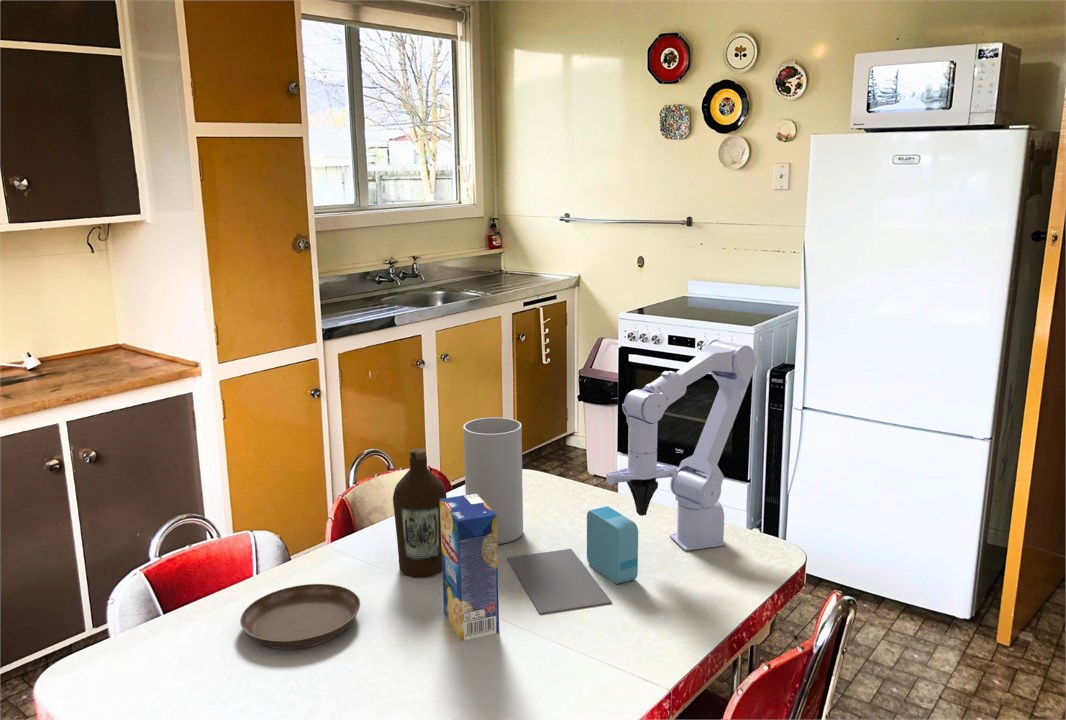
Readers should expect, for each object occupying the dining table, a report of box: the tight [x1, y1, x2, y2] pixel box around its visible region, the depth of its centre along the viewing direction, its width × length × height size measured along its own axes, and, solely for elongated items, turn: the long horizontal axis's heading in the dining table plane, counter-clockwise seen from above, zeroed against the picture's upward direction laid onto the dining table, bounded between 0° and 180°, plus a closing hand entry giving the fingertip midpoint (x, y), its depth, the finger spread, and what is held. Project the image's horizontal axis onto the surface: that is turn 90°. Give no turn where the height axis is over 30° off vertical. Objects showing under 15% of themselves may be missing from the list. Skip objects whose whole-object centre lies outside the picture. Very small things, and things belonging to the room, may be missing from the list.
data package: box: [586, 506, 639, 585], centre depth 171 cm, size 12×4×12 cm, turn 28°
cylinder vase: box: [463, 417, 524, 545], centre depth 188 cm, size 12×12×25 cm
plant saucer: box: [239, 583, 361, 650], centre depth 153 cm, size 21×21×3 cm
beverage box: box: [440, 493, 500, 642], centre depth 151 cm, size 7×11×22 cm, turn 22°
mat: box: [506, 548, 613, 615], centre depth 169 cm, size 14×24×1 cm, turn 16°
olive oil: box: [392, 447, 448, 579], centre depth 172 cm, size 11×11×25 cm
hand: (641, 513), depth 175 cm, fingers closed
